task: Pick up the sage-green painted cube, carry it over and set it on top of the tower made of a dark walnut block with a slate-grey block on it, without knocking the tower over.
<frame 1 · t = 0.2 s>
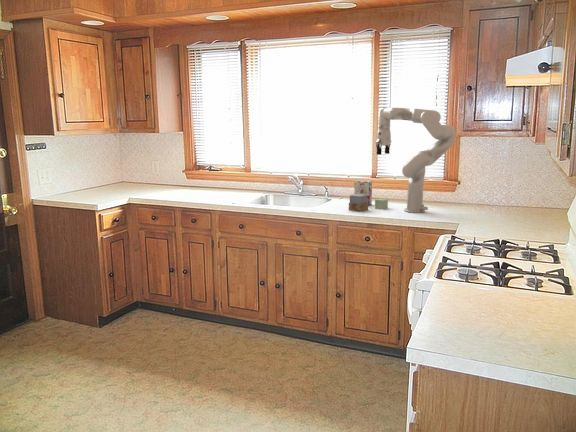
hand: (383, 154, 332), 35 cm above the countertop, tool pointing down, fingers open, 9 cm apart
lower block: (358, 210, 329), on the countertop, touching upper block
upper block: (358, 202, 328), point 5 cm above the countertop, touching lower block
green cube: (381, 208, 335), on the countertop
candy bar box: (362, 204, 349), on the countertop
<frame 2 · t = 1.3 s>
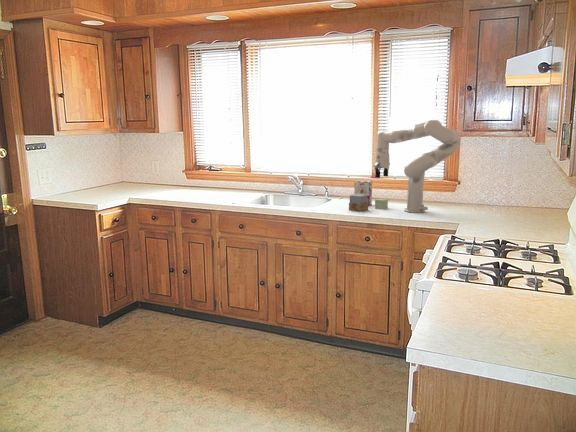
hand: (381, 176, 331), 21 cm above the countertop, tool pointing down, fingers open, 9 cm apart
lower block: (358, 210, 329), on the countertop
upper block: (358, 202, 328), point 5 cm above the countertop
everything else where it was.
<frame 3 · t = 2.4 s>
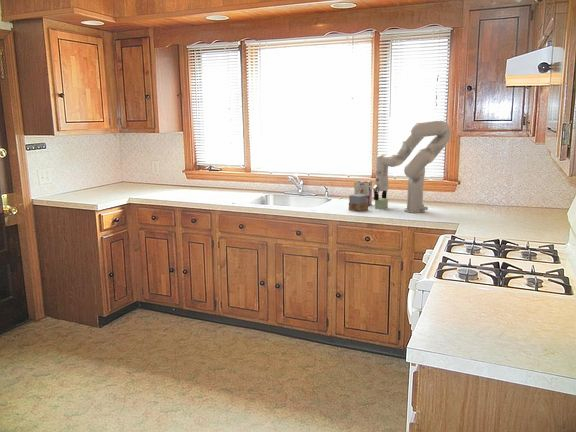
hand: (380, 199, 334), 6 cm above the countertop, tool pointing down, fingers open, 9 cm apart
lower block: (358, 210, 329), on the countertop, touching upper block
upper block: (357, 202, 328), point 5 cm above the countertop, touching lower block
everything else where it was.
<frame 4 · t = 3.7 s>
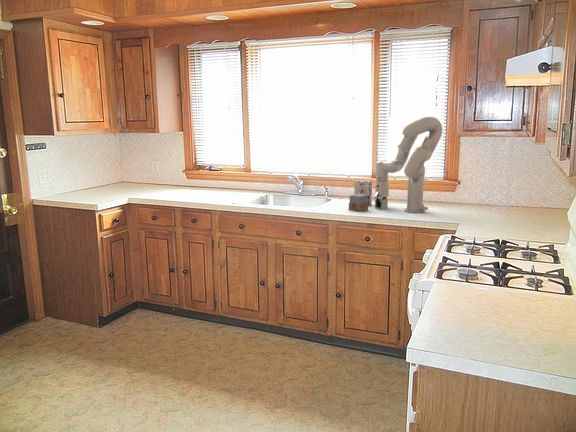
hand: (381, 206, 335), 1 cm above the countertop, tool pointing down, fingers closed on green cube, 6 cm apart
green cube: (381, 208, 335), on the countertop, touching gripper
everything else where it was.
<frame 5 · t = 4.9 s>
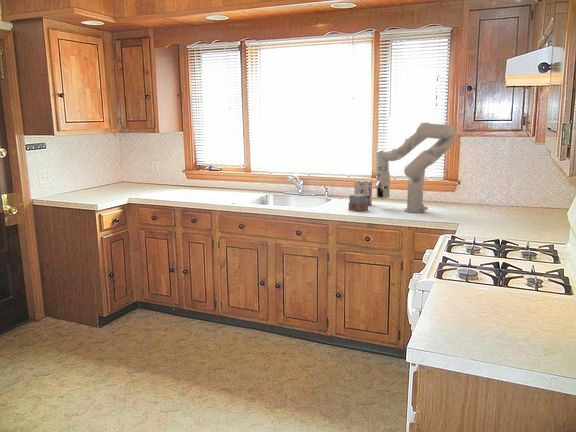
hand: (383, 195, 333), 8 cm above the countertop, tool pointing down, fingers closed on green cube, 6 cm apart
green cube: (383, 197, 333), point 7 cm above the countertop, touching gripper
everything else where it was.
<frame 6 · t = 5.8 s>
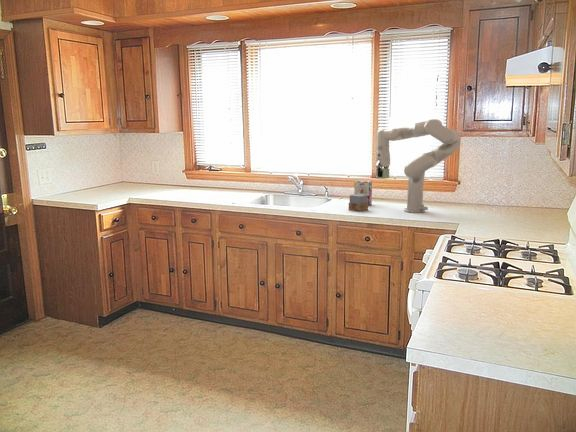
hand: (382, 176, 331), 21 cm above the countertop, tool pointing down, fingers closed on green cube, 6 cm apart
green cube: (382, 177, 331), point 20 cm above the countertop, touching gripper
everything else where it was.
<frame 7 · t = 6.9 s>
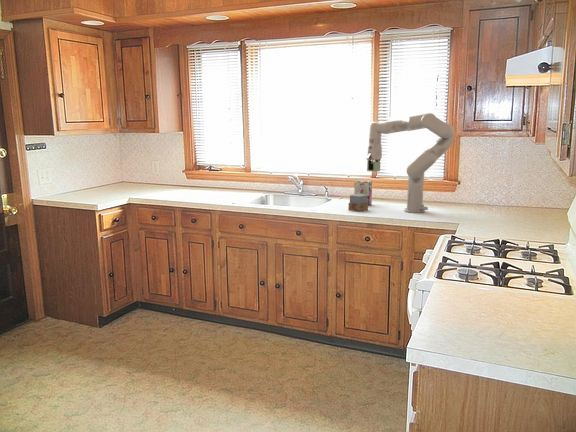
hand: (373, 169, 328), 26 cm above the countertop, tool pointing down, fingers closed on green cube, 6 cm apart
lower block: (358, 210, 329), on the countertop
upper block: (358, 202, 328), point 5 cm above the countertop
green cube: (373, 171, 328), point 25 cm above the countertop, touching gripper
everything else where it was.
when the fingers open (12 cm above the countertop, at t = 11.7 s): green cube moves 1 cm, resting on upper block.
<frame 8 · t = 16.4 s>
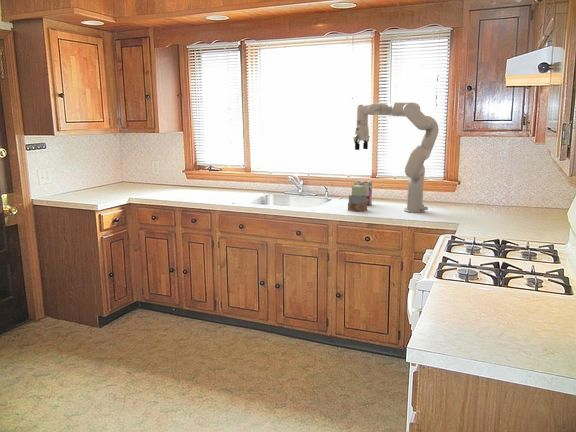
hand: (361, 149, 334), 38 cm above the countertop, tool pointing down, fingers open, 9 cm apart
lower block: (357, 210, 329), on the countertop, touching upper block
upper block: (357, 202, 327), point 5 cm above the countertop, touching green cube, lower block
green cube: (358, 195, 327), point 10 cm above the countertop, touching upper block
everything else where it was.
at the end: green cube 0.5 cm off-centre on the upper block, point 5.0 cm above the upper block's base; upper block 0.2 cm off-centre on the lower block, point 5.0 cm above the lower block's base; lower block moved 0.9 cm from its start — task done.
